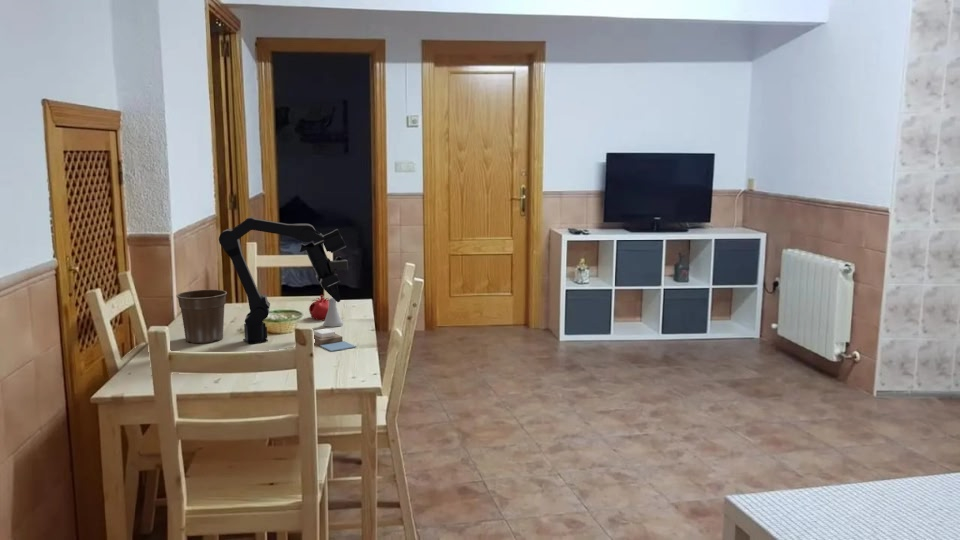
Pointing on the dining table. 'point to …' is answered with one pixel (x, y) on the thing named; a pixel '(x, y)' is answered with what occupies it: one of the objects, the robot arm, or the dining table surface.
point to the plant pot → (202, 314)
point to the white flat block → (324, 333)
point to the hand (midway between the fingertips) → (337, 299)
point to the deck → (328, 340)
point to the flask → (332, 315)
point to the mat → (337, 346)
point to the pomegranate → (319, 308)
